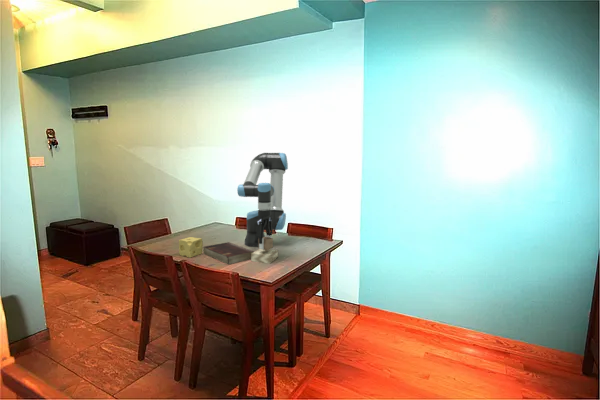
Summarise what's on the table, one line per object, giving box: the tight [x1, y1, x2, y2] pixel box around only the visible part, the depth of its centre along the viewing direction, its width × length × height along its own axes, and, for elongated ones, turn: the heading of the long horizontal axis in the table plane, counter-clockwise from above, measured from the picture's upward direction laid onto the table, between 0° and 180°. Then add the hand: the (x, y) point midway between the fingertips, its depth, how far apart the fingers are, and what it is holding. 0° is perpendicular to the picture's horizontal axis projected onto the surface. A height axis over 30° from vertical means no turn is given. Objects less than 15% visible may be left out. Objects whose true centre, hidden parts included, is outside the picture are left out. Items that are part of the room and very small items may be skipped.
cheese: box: [178, 236, 204, 259], centre depth 219 cm, size 10×11×10 cm
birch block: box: [250, 248, 279, 264], centre depth 211 cm, size 12×12×5 cm
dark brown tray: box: [202, 241, 256, 265], centre depth 218 cm, size 29×19×5 cm, turn 43°
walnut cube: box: [258, 236, 274, 250], centre depth 209 cm, size 6×6×6 cm
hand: (264, 247), depth 210 cm, fingers closed on walnut cube, 6 cm apart
